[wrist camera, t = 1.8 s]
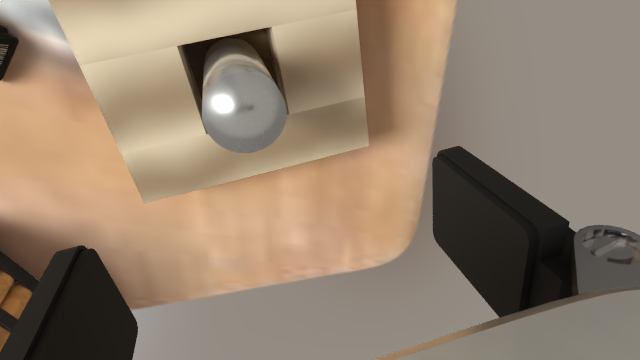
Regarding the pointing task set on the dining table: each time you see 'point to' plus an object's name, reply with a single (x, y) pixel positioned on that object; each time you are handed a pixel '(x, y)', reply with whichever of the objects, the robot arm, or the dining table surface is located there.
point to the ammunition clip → (13, 294)
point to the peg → (240, 98)
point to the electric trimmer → (6, 49)
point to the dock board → (183, 95)
